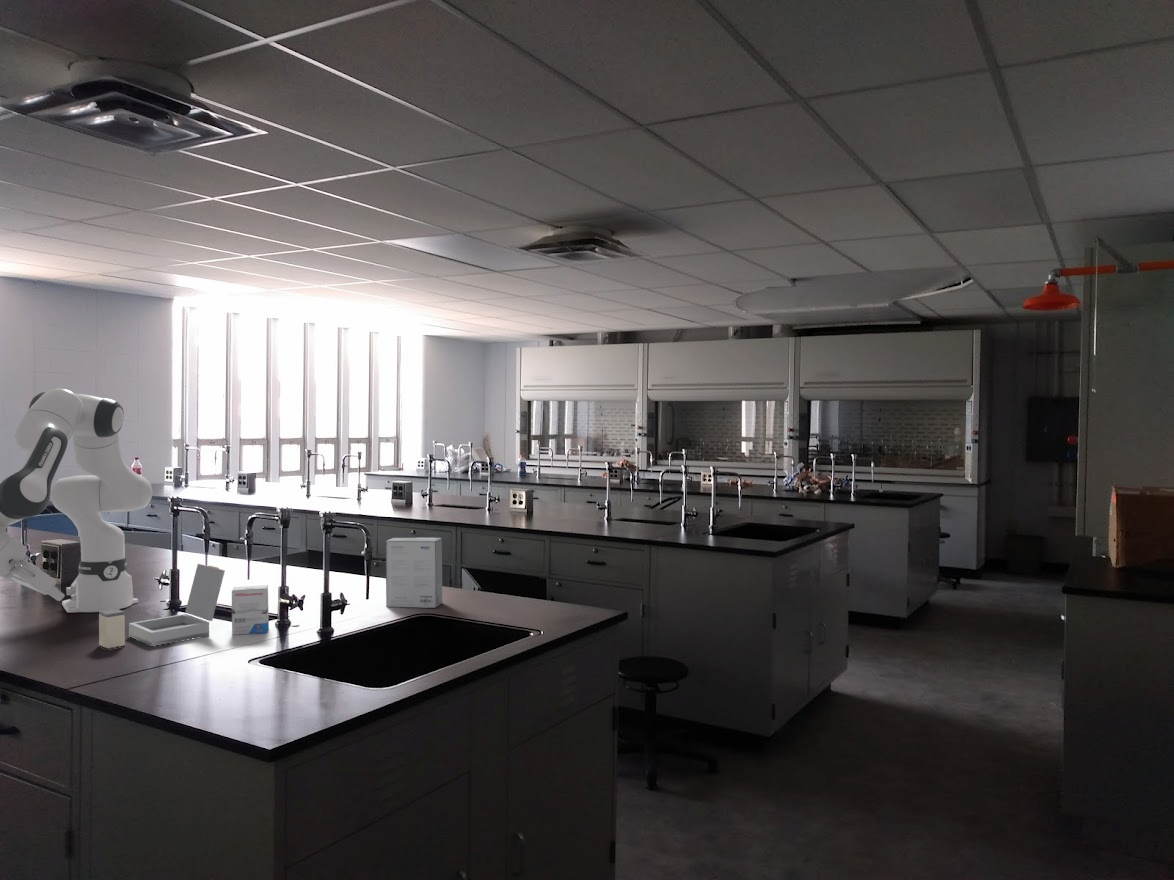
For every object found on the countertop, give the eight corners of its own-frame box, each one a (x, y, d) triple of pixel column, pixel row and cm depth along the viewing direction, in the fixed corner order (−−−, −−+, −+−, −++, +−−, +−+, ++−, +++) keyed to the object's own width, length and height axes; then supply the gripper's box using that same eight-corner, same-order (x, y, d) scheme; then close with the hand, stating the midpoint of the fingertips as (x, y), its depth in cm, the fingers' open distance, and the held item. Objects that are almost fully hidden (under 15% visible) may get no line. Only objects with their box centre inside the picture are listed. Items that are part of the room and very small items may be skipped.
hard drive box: (443, 603, 250) (443, 537, 249) (436, 608, 242) (436, 541, 242) (393, 601, 251) (393, 536, 251) (384, 607, 244) (384, 540, 243)
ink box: (269, 628, 218) (269, 584, 218) (267, 633, 213) (267, 588, 213) (234, 630, 216) (234, 586, 215) (231, 635, 211) (231, 590, 211)
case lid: (197, 563, 222) (203, 563, 223) (185, 612, 219) (191, 612, 220) (222, 569, 212) (227, 570, 214) (209, 620, 210) (215, 621, 211)
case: (128, 637, 209) (128, 623, 209) (185, 626, 219) (185, 613, 219) (151, 647, 200) (151, 632, 199) (209, 635, 210) (209, 622, 210)
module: (99, 646, 200) (98, 611, 200) (117, 642, 203) (116, 608, 203) (106, 649, 197) (106, 614, 197) (124, 646, 200) (124, 611, 200)
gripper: (30, 552, 178) (81, 590, 186) (2, 542, 191) (51, 578, 199) (5, 575, 175) (58, 613, 182) (-21, 564, 188) (30, 600, 196)
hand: (54, 595), depth 191 cm, fingers open, 8 cm apart
